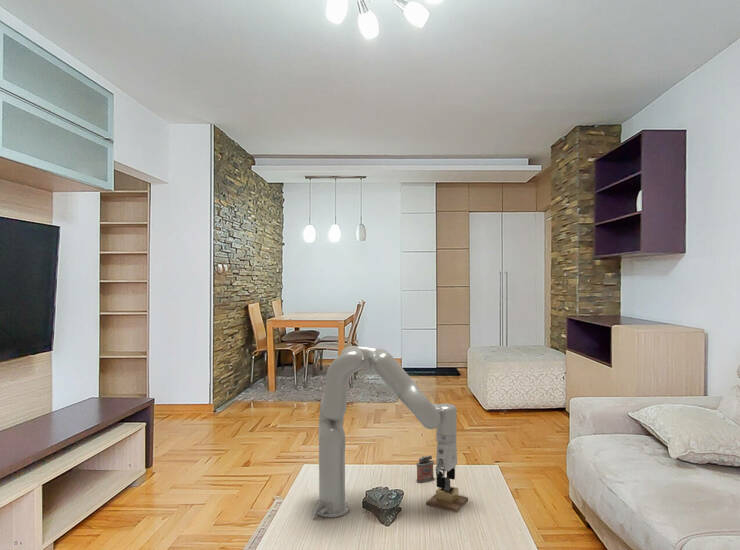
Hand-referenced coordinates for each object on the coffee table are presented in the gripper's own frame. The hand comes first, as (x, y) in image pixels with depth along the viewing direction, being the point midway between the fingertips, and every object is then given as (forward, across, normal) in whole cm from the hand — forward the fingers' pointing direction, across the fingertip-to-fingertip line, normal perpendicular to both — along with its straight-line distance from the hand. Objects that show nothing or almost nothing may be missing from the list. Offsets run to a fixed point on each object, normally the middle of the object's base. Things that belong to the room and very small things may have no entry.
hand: (445, 483), depth 187 cm
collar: (+6, 0, 0) cm, 6 cm away
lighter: (+8, +15, +16) cm, 23 cm away
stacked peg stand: (+7, 0, 0) cm, 7 cm away
